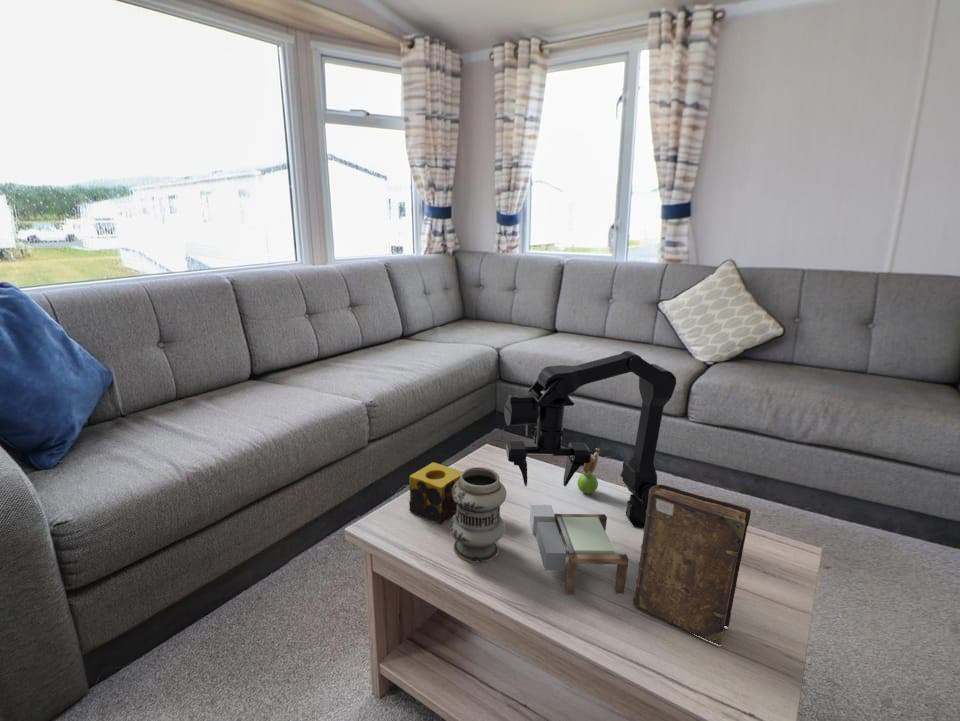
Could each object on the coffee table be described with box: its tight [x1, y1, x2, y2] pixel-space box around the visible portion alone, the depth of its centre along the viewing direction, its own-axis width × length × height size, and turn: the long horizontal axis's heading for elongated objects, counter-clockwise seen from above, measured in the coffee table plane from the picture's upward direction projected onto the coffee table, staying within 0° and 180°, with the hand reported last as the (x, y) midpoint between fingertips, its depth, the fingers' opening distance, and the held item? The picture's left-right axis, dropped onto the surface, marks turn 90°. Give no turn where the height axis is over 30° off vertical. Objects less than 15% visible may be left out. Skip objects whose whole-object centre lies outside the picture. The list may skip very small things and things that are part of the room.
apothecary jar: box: [449, 466, 507, 563], centre depth 114 cm, size 12×12×18 cm
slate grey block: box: [528, 504, 555, 536], centre depth 124 cm, size 5×5×5 cm
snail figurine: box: [577, 447, 601, 495], centre depth 142 cm, size 5×6×12 cm
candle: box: [408, 462, 463, 525], centre depth 130 cm, size 10×10×10 cm
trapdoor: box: [535, 516, 616, 571], centre depth 110 cm, size 14×12×5 cm
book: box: [632, 484, 752, 646], centre depth 95 cm, size 17×7×25 cm, turn 51°
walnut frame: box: [554, 513, 630, 595], centre depth 110 cm, size 12×16×8 cm
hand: (545, 485), depth 122 cm, fingers open, 9 cm apart
